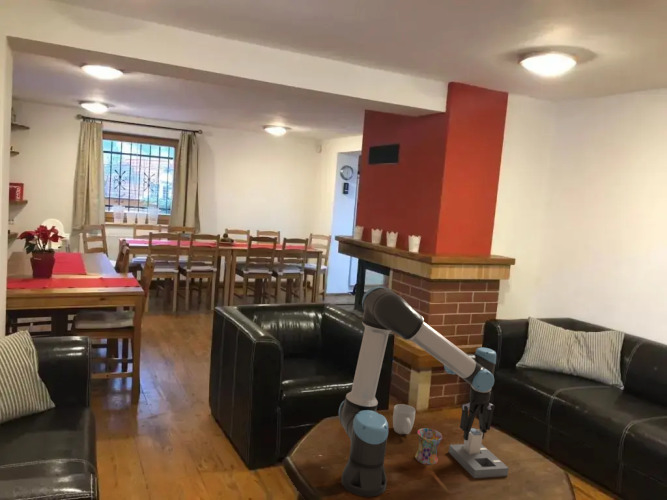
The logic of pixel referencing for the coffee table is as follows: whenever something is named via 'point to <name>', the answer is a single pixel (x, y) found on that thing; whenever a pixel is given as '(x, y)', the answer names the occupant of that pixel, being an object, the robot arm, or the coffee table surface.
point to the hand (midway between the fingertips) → (472, 447)
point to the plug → (474, 442)
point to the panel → (479, 462)
